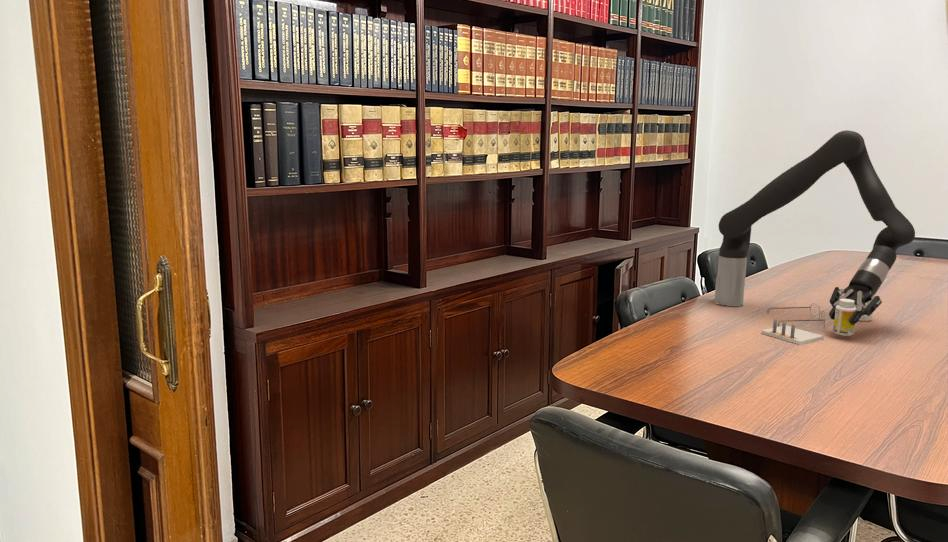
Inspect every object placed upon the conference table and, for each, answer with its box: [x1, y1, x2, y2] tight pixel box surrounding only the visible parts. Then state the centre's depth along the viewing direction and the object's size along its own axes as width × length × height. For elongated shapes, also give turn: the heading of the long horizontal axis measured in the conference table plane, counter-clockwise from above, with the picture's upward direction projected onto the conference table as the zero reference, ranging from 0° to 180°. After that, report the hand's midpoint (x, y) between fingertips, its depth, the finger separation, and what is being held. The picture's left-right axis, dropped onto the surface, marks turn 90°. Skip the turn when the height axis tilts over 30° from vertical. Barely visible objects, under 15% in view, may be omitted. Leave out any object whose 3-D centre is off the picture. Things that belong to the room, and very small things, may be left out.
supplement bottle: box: [832, 298, 857, 337], centre depth 204 cm, size 6×6×10 cm
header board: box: [761, 319, 825, 345], centre depth 206 cm, size 13×11×5 cm
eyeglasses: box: [766, 303, 826, 329], centre depth 223 cm, size 16×15×5 cm
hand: (841, 320), depth 203 cm, fingers closed on supplement bottle, 5 cm apart
